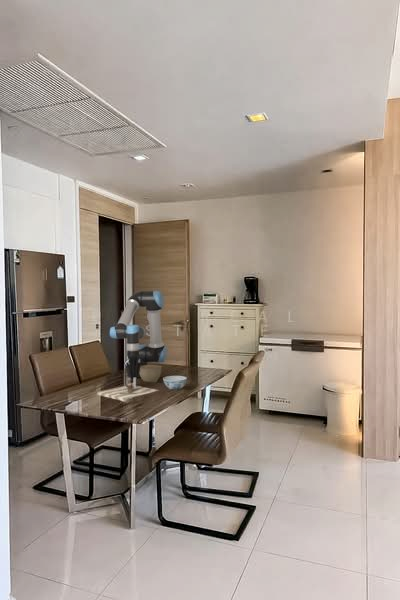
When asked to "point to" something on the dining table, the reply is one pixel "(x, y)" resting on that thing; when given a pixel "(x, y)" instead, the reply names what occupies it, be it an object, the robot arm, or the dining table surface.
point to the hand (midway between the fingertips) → (133, 387)
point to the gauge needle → (128, 383)
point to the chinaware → (174, 382)
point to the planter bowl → (150, 372)
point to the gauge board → (125, 392)
